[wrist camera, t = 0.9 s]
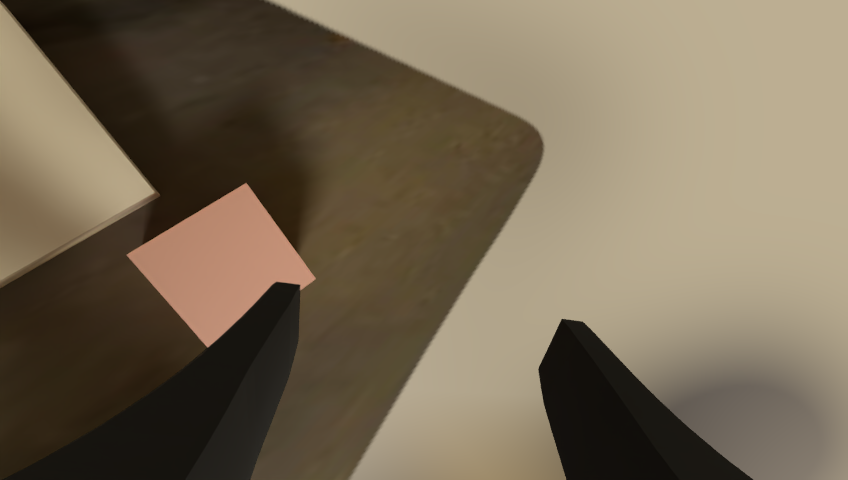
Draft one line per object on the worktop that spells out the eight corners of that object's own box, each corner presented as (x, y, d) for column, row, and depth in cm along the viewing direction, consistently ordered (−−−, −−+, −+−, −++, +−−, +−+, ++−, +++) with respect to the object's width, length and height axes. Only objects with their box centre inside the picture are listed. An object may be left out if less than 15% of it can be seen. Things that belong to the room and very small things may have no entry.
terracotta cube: (210, 326, 22) (213, 354, 17) (141, 246, 20) (126, 254, 16) (293, 267, 23) (315, 279, 19) (236, 189, 22) (246, 182, 18)
